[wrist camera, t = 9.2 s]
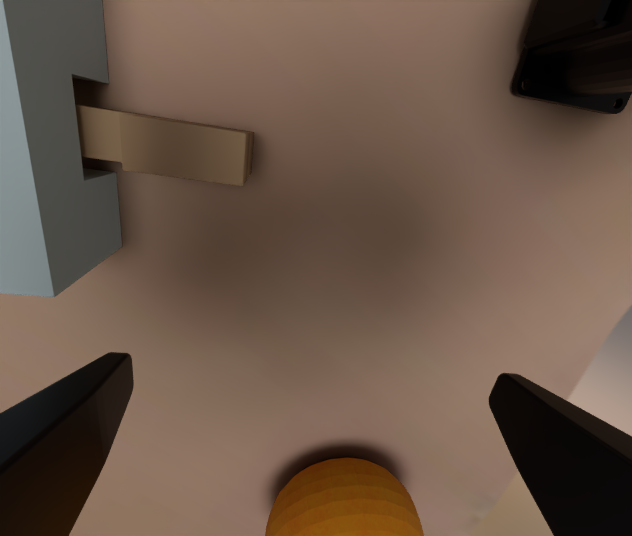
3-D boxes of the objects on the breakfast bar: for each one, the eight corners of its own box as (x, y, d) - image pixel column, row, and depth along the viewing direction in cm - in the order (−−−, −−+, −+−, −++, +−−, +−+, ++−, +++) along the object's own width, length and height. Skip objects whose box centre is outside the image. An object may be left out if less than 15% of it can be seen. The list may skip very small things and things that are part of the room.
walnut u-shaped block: (254, 132, 17) (246, 133, 12) (251, 172, 17) (242, 186, 13) (-122, 72, 14) (-286, 49, 10) (-107, 122, 15) (-254, 120, 11)
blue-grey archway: (100, -24, 14) (-20, -127, 8) (122, 246, 18) (54, 297, 13) (33, -39, 13) (-140, -157, 8) (72, 241, 18) (-20, 292, 12)
